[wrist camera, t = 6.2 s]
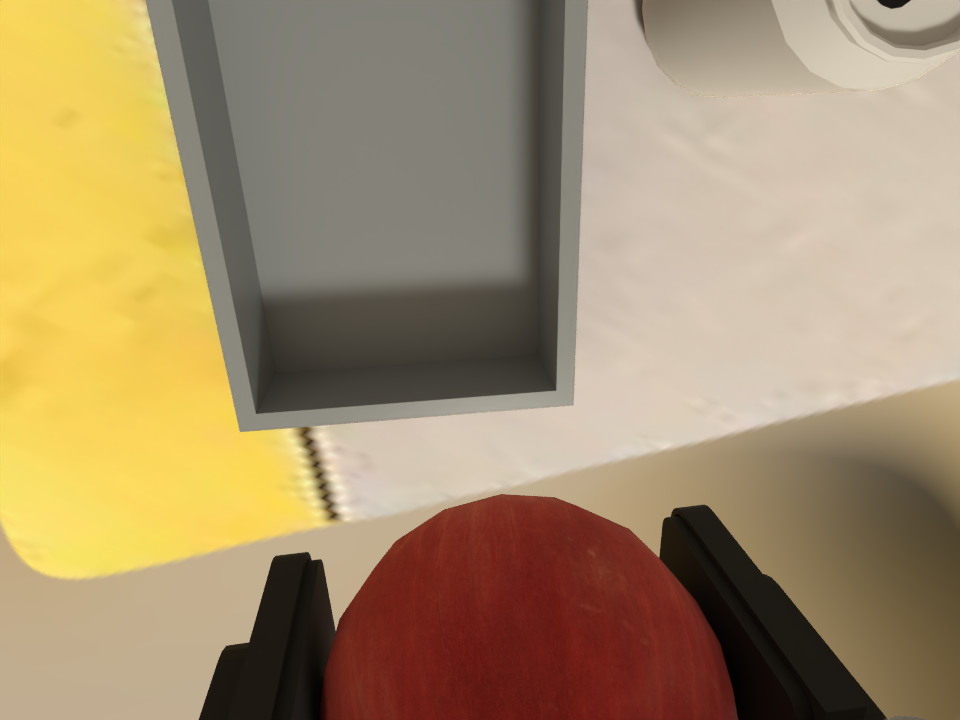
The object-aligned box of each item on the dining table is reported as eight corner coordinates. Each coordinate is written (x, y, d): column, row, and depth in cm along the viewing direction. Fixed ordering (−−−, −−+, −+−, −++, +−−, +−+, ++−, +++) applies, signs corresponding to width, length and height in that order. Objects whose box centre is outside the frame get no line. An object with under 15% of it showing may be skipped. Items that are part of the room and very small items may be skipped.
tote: (557, -90, 23) (592, -139, 19) (549, 362, 31) (573, 405, 27) (175, -89, 22) (114, -142, 18) (265, 382, 30) (239, 432, 25)
